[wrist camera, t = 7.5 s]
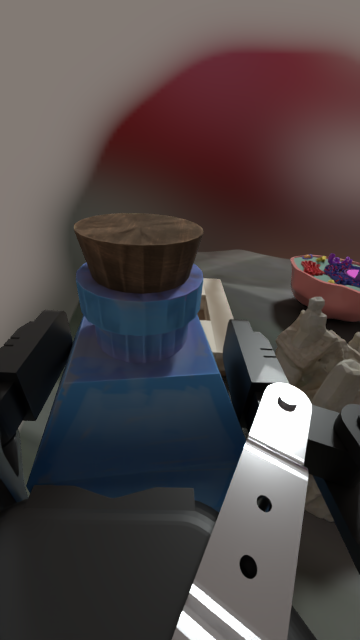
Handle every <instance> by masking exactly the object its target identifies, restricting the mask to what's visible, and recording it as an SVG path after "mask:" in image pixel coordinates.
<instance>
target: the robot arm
mask: <svg viewBox="0 0 360 640" xmlns="http://www.w3.org/2000/svg"><path fill="white" fill-rule="evenodd" d="M72 344H73V342H72V337H71V332H70V328H69V323H68V319H67V315H66V313H65V312H64V311H53V310H44V311H43V312H42V313H41V314H40V315H39V316H38V317H37V318H36V320H35V321H34V322H29V323H27V324H25V325H24V326H22V327H20V328H19V329H18V330H17V331H16V332H15V333H14V334H13V335H12V336H11V338H10V339H8V341H7V342H6V343H5V344H4V346H3V347H1V348H0V640H317V639H316V638H315V636H314V635H313V633H312V632H311V631H310V629H309V628H308V627H307V625H306V624H305V622H304V621H303V620H302V618H301V617H300V616H299V614H298V613H297V612H296V610H295V609H294V607H293V606H292V598H293V590H294V583H295V575H296V568H297V560H298V552H299V545H300V537H301V530H302V522H303V514H304V507H305V499H306V492H307V484H308V474H311V475H313V478H314V480H315V482H316V484H317V486H318V488H319V490H320V492H321V494H322V496H323V499H324V501H325V503H326V505H327V507H328V509H329V511H330V513H331V515H332V518H333V520H334V522H335V524H336V526H337V528H338V530H339V532H340V534H341V537H342V539H343V541H344V543H345V545H346V547H347V549H348V551H349V553H350V555H351V558H352V560H353V562H354V564H355V566H356V568H357V570H358V572H359V574H360V405H358V404H349V405H346V406H344V407H343V408H342V410H341V412H340V413H338V412H335V411H332V410H328V409H325V408H321V407H318V406H315V405H313V404H311V403H310V401H309V399H308V398H307V396H306V395H305V394H304V393H303V392H301V391H300V390H299V389H297V388H295V387H293V386H291V385H290V384H289V382H288V380H287V378H286V376H285V374H284V372H283V369H282V367H281V365H280V363H279V361H278V359H277V358H276V355H275V353H274V351H272V347H271V345H270V343H269V341H268V339H267V338H265V337H264V336H263V335H262V334H261V333H260V332H253V331H252V328H251V326H250V324H249V321H248V320H239V319H230V320H229V321H228V326H227V331H226V336H225V341H224V346H223V363H224V368H225V372H226V377H227V381H228V386H229V391H230V395H231V400H232V404H233V407H234V410H235V413H236V415H237V418H238V421H239V423H240V426H241V428H247V429H248V433H249V436H248V438H247V441H246V443H245V446H244V449H243V451H242V454H241V457H240V459H239V462H238V465H237V467H236V470H235V473H234V475H233V478H232V481H231V483H230V486H229V489H228V491H227V494H226V497H225V499H224V502H223V505H222V507H221V510H220V513H219V512H218V511H216V510H215V509H213V508H212V507H210V506H208V505H206V504H204V503H202V502H199V501H196V500H194V488H174V487H154V488H150V489H147V490H143V491H139V492H136V493H132V494H128V495H125V496H121V497H117V498H109V497H106V496H103V495H100V494H97V493H94V492H91V491H89V490H86V489H83V488H80V487H77V486H69V485H34V486H33V489H32V491H31V493H30V495H29V498H28V495H27V492H26V489H25V484H24V476H23V464H22V452H21V440H20V432H19V430H18V427H19V425H20V424H21V422H22V420H24V421H36V419H37V417H38V415H39V414H40V412H41V410H42V408H43V406H44V404H45V402H46V400H47V399H48V397H49V395H50V393H51V391H52V389H53V387H54V385H55V383H56V382H57V380H58V378H59V376H60V374H61V372H62V370H63V368H64V366H65V365H66V363H67V360H68V357H69V354H70V350H71V347H72Z"/></svg>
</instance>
